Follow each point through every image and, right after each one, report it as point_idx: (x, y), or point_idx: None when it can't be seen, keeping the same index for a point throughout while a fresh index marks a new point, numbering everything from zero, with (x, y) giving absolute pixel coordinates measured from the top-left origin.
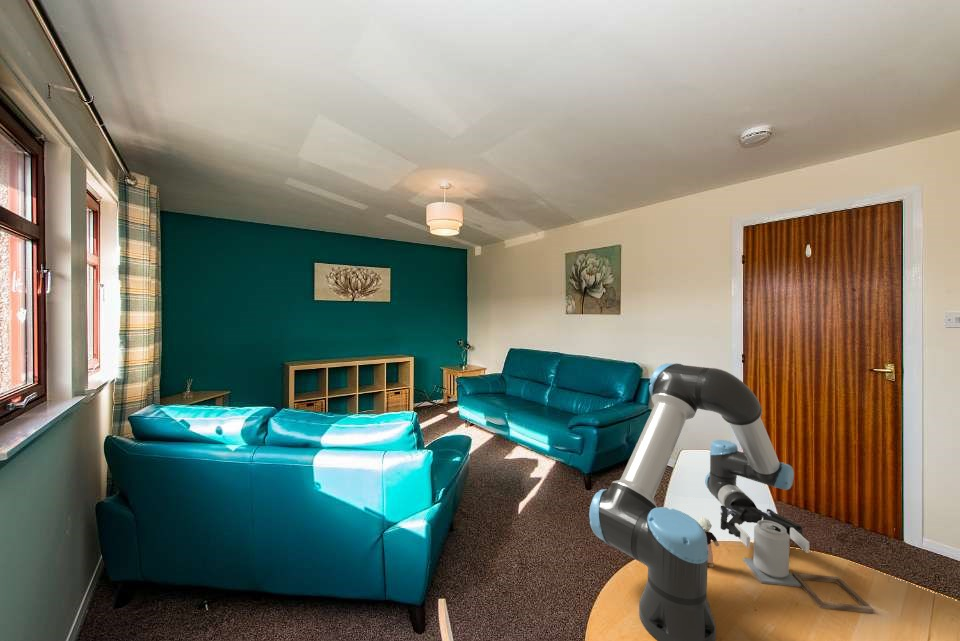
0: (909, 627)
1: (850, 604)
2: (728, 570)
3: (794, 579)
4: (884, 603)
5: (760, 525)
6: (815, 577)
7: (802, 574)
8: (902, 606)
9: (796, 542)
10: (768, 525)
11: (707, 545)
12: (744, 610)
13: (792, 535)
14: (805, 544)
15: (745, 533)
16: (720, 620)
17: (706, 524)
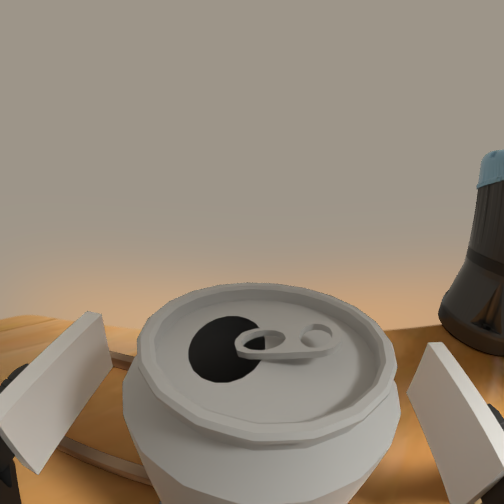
0: None
1: (122, 359)
2: (419, 491)
3: None
4: (29, 362)
5: (362, 376)
6: (90, 448)
7: (126, 467)
8: (11, 350)
9: (69, 418)
10: (294, 345)
11: None
12: (398, 363)
13: (38, 433)
14: (103, 331)
15: (451, 366)
16: (436, 340)
17: None
